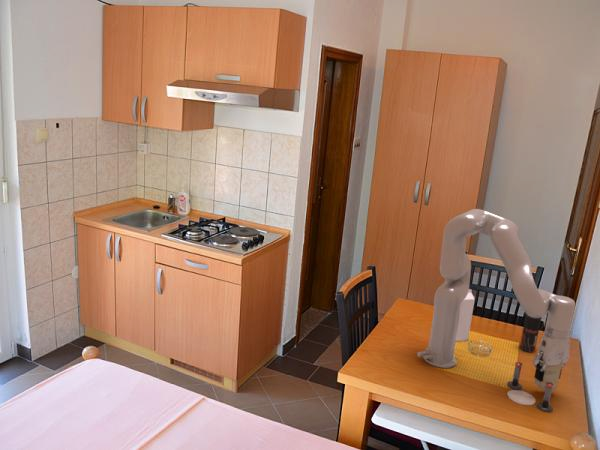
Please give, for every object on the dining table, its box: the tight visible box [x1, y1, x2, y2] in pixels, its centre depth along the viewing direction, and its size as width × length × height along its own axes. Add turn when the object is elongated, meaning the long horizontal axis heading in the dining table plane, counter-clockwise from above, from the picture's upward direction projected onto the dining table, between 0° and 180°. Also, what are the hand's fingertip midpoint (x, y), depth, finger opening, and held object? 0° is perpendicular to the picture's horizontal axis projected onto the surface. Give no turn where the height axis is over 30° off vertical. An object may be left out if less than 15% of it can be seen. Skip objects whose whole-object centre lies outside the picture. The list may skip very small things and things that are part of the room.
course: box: [506, 361, 554, 413], centre depth 184 cm, size 19×19×9 cm
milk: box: [456, 288, 476, 342], centre depth 223 cm, size 6×6×22 cm
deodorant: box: [519, 313, 542, 354], centre depth 218 cm, size 6×6×15 cm
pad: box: [507, 389, 536, 406], centre depth 181 cm, size 9×9×1 cm
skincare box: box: [534, 359, 563, 392], centre depth 183 cm, size 6×4×12 cm
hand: (547, 378), depth 184 cm, fingers closed on skincare box, 7 cm apart
